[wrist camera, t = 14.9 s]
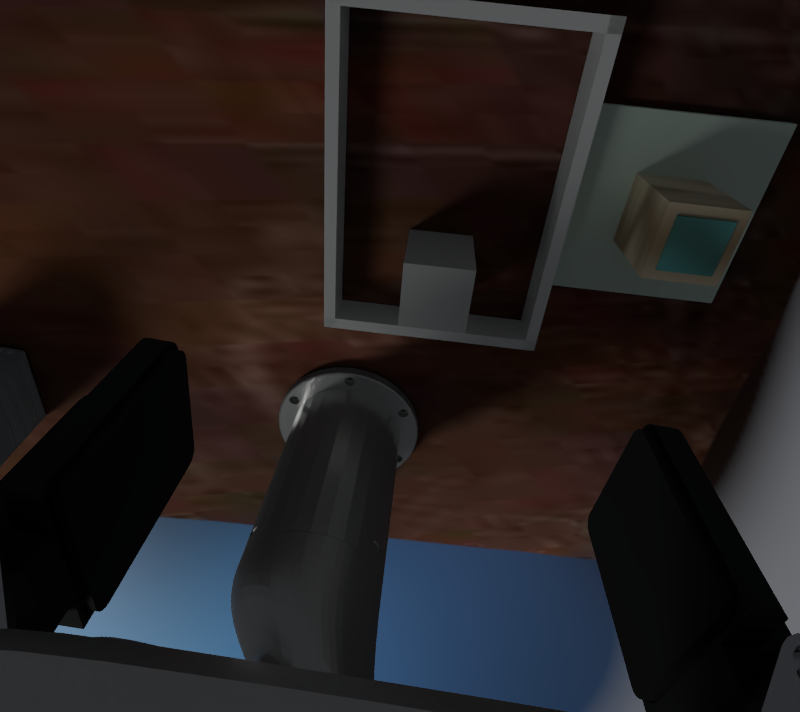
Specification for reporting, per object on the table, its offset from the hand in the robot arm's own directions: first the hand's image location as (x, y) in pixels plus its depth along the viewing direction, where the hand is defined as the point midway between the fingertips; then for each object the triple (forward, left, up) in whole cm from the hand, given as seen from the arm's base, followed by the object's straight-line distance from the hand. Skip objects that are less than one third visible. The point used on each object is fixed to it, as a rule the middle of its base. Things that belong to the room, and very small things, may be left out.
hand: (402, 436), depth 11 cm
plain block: (-8, -1, -27) cm, 28 cm away
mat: (-2, -15, -27) cm, 31 cm away
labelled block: (-2, -15, -27) cm, 31 cm away
